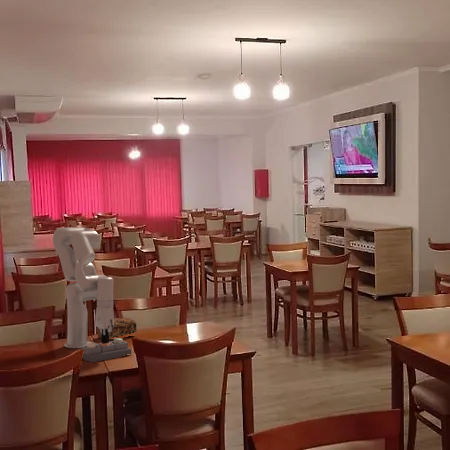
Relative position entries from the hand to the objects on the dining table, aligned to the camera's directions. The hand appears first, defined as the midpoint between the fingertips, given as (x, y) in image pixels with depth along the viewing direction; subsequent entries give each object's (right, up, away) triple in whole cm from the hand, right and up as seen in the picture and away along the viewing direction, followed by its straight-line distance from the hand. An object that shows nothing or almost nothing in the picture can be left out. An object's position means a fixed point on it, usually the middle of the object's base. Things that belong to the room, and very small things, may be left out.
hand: (105, 342), depth 279 cm
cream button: (-6, -2, -4) cm, 7 cm away
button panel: (0, -6, 0) cm, 6 cm away
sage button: (+5, -2, +5) cm, 7 cm away
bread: (-2, -5, +40) cm, 40 cm away
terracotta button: (0, -3, 0) cm, 3 cm away
